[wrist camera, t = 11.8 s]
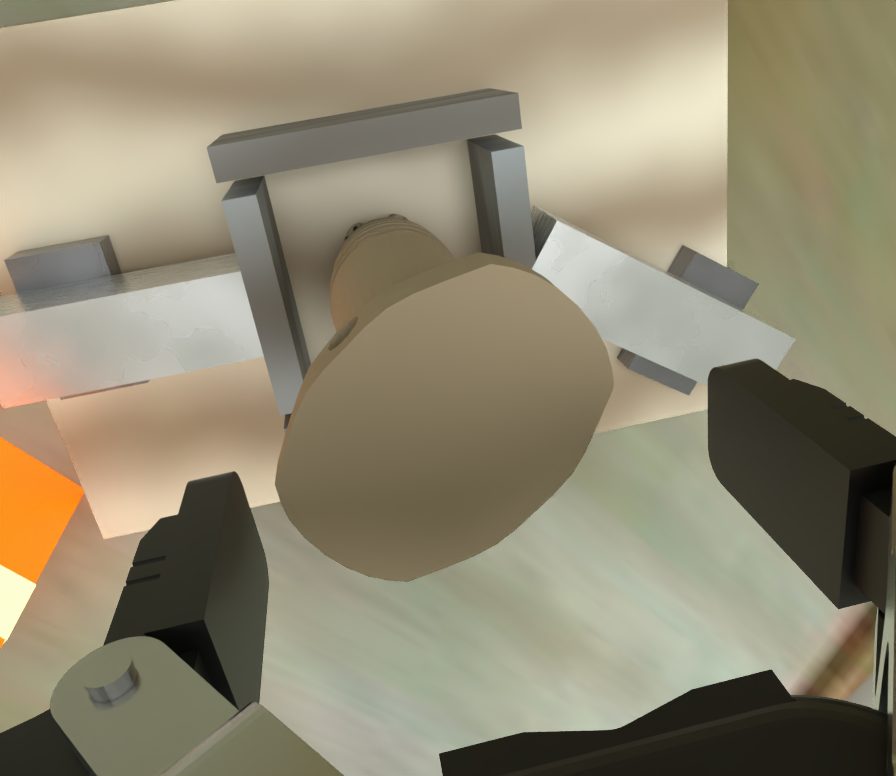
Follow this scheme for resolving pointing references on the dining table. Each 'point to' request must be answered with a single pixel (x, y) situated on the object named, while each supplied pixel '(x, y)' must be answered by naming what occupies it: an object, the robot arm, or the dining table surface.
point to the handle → (436, 404)
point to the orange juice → (28, 526)
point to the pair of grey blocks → (236, 339)
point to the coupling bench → (343, 179)
